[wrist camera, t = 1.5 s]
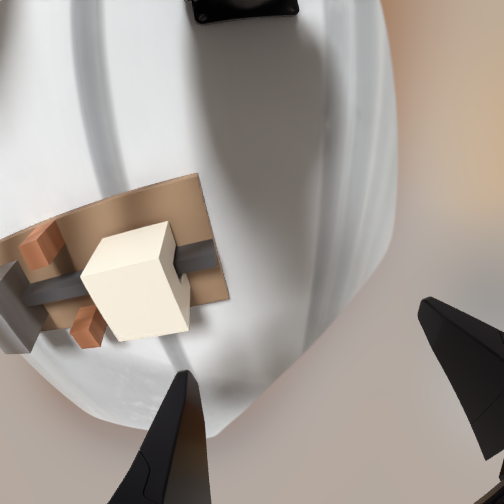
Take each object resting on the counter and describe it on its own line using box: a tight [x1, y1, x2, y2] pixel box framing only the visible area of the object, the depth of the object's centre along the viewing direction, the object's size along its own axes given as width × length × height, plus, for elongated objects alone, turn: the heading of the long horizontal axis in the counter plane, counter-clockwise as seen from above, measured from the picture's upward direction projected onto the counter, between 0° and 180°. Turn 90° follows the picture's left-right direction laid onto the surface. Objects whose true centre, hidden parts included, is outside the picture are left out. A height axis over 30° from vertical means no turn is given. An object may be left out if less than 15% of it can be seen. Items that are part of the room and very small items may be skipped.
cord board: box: [0, 173, 229, 354], centre depth 17 cm, size 22×10×6 cm, turn 99°
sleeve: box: [80, 221, 190, 342], centre depth 17 cm, size 5×5×5 cm
